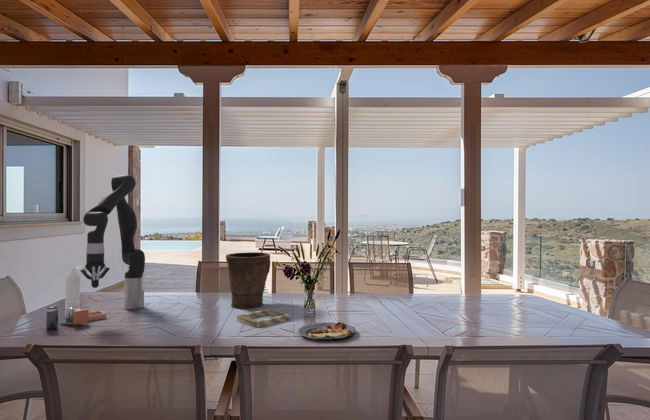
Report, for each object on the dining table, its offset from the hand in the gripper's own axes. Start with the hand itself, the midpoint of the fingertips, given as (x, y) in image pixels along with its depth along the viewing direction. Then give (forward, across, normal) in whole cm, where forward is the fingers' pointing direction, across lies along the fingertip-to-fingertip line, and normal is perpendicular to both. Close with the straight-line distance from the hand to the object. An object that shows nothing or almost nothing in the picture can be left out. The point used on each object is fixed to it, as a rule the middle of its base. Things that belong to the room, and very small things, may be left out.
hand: (94, 287), depth 191 cm
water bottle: (+17, +3, -22) cm, 28 cm away
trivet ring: (+17, -59, +58) cm, 84 cm away
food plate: (+17, -64, +97) cm, 117 cm away
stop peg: (+17, +17, 0) cm, 24 cm away
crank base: (+17, +8, -6) cm, 20 cm away
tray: (+17, -2, -8) cm, 19 cm away
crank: (+16, +8, -3) cm, 18 cm away
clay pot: (+17, -75, +25) cm, 81 cm away
